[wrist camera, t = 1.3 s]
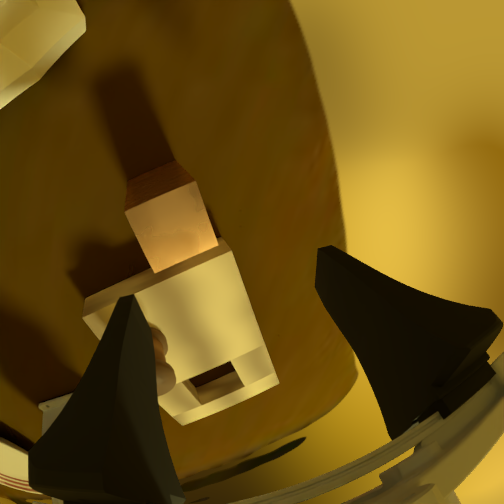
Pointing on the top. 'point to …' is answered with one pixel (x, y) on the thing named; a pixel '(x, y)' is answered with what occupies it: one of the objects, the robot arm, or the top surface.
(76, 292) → the top surface
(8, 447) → the dinner plate
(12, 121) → the top surface
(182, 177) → the brown wooden block
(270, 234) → the top surface
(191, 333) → the board
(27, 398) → the top surface
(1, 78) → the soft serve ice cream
